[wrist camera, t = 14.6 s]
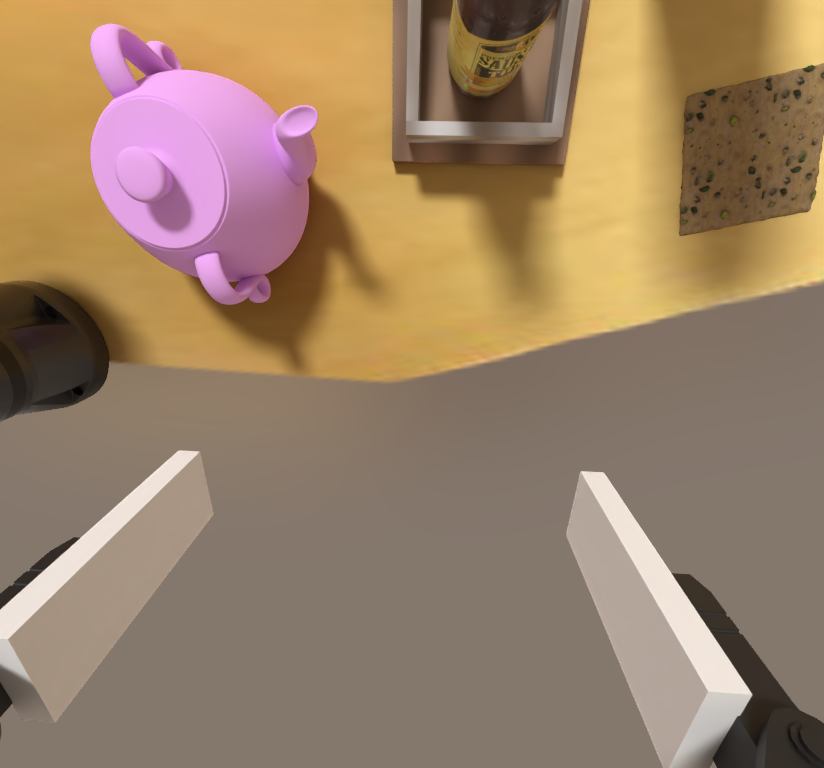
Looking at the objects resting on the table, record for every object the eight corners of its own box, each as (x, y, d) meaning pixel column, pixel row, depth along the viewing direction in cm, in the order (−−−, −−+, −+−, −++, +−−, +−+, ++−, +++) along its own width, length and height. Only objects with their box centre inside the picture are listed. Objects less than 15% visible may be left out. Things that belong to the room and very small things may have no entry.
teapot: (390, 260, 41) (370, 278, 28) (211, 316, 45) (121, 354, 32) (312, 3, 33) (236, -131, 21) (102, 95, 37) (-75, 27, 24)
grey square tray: (393, 162, 38) (388, 155, 33) (394, -65, 31) (388, -108, 27) (561, 165, 37) (577, 158, 33) (596, -66, 31) (621, -111, 27)
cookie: (675, 238, 39) (681, 239, 38) (681, 97, 35) (688, 93, 34) (807, 212, 38) (816, 212, 37) (831, 60, 33) (842, 56, 32)
